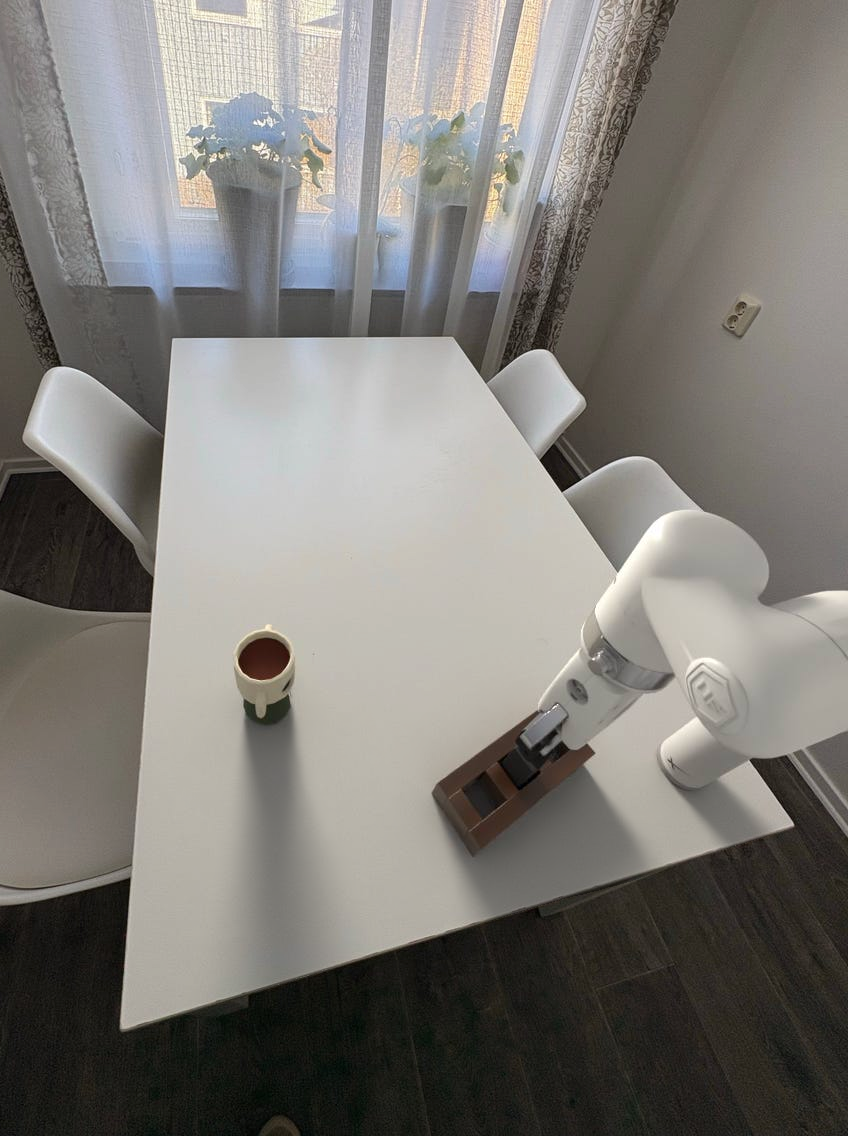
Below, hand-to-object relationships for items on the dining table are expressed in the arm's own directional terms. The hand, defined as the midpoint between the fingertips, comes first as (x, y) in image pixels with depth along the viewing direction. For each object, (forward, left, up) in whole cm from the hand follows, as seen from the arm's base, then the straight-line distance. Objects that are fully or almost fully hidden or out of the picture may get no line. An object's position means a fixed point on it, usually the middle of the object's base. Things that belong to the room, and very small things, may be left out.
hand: (560, 728), depth 54 cm
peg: (+1, 0, -17) cm, 17 cm away
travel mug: (-10, -21, -17) cm, 29 cm away
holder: (+1, 0, -17) cm, 17 cm away
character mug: (+25, +22, -17) cm, 37 cm away
